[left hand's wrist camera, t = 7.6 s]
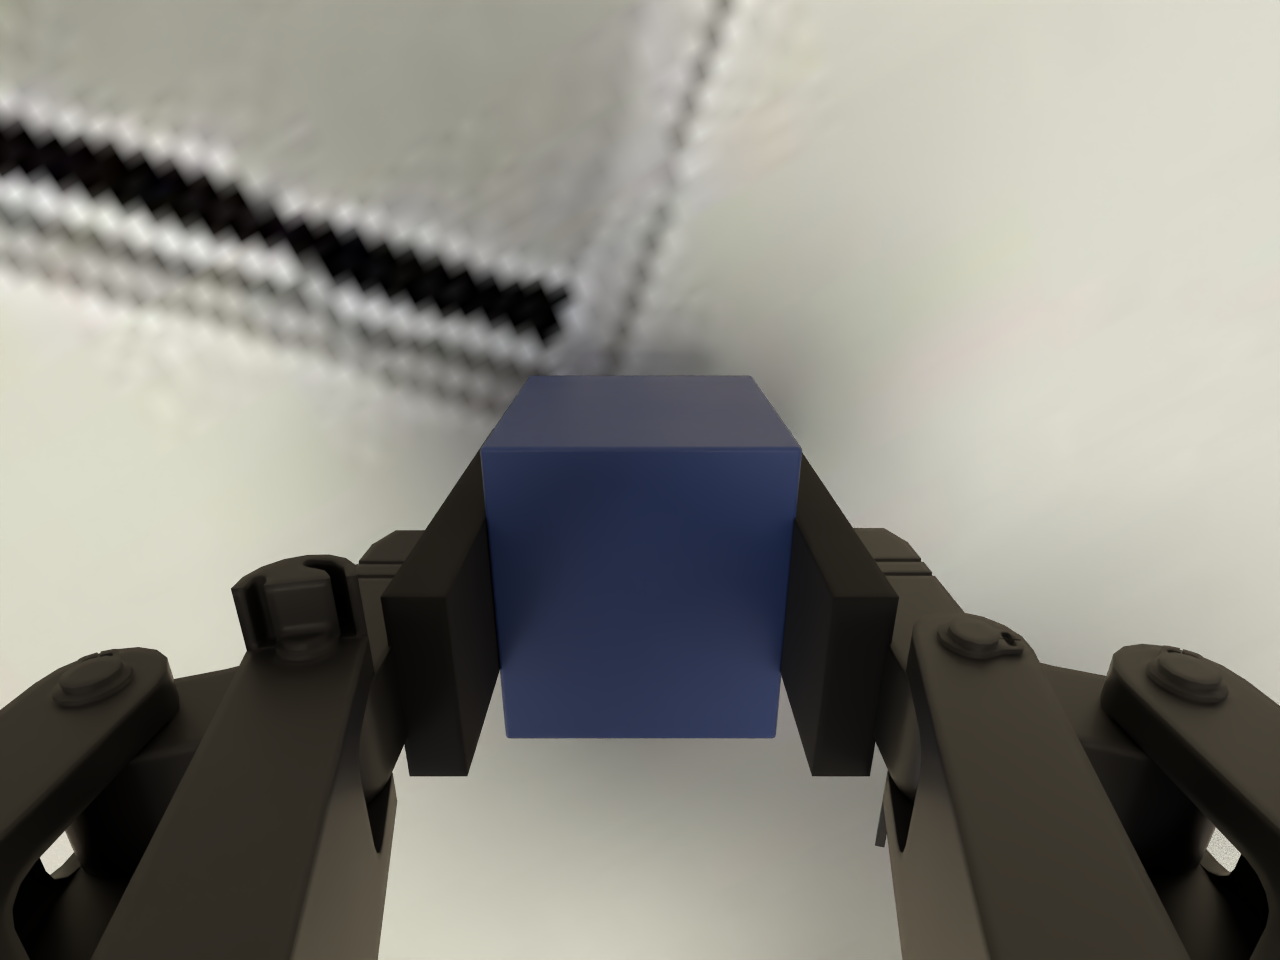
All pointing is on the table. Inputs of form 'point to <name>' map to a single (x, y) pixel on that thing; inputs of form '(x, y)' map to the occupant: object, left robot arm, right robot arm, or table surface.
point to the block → (640, 556)
